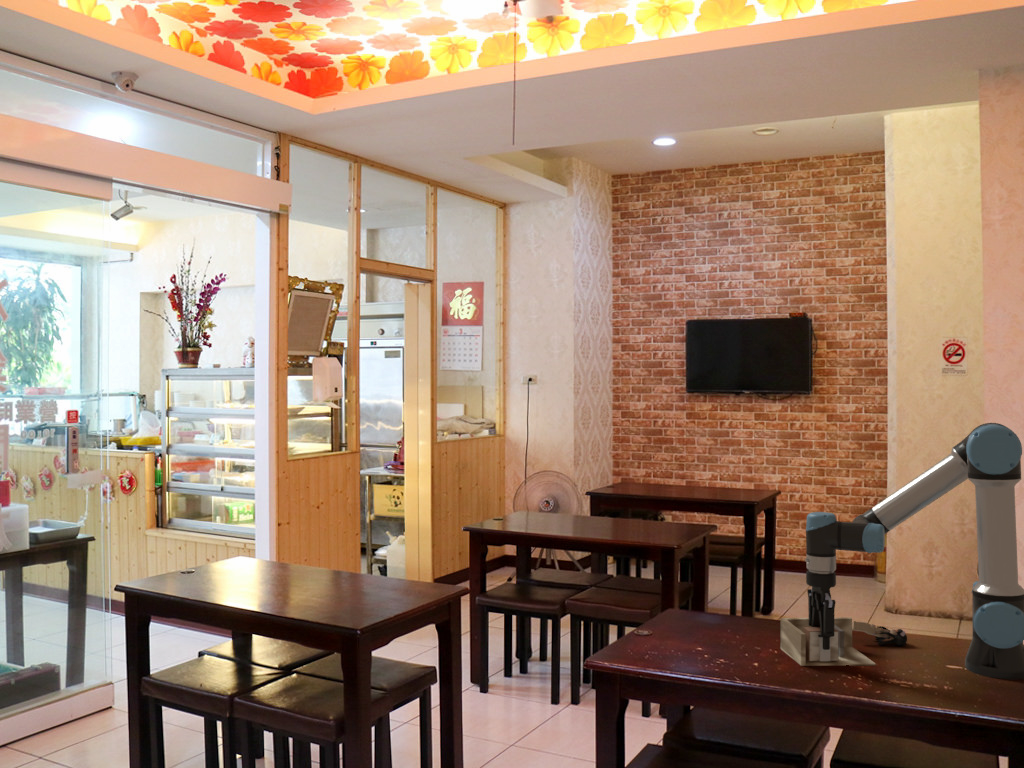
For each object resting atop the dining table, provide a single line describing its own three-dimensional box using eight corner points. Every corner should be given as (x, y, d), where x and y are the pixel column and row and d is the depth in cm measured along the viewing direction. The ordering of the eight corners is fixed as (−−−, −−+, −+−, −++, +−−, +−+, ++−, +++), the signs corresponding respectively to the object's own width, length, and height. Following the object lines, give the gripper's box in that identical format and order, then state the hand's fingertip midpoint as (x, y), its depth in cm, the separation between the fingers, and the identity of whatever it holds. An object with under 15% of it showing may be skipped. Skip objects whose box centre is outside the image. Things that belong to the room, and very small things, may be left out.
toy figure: (850, 621, 266) (904, 632, 262) (848, 642, 263) (902, 654, 260) (854, 616, 259) (910, 627, 256) (853, 637, 257) (909, 649, 253)
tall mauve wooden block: (832, 656, 243) (832, 626, 243) (838, 661, 239) (838, 631, 239) (803, 656, 243) (803, 627, 243) (809, 661, 239) (809, 631, 239)
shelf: (850, 649, 254) (850, 617, 254) (875, 667, 238) (875, 633, 238) (780, 650, 253) (780, 618, 253) (801, 668, 237) (801, 634, 237)
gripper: (795, 564, 249) (795, 648, 249) (819, 577, 232) (819, 668, 232) (822, 564, 250) (822, 648, 250) (848, 577, 232) (848, 668, 233)
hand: (821, 657), depth 241 cm, fingers closed on tall mauve wooden block, 4 cm apart
